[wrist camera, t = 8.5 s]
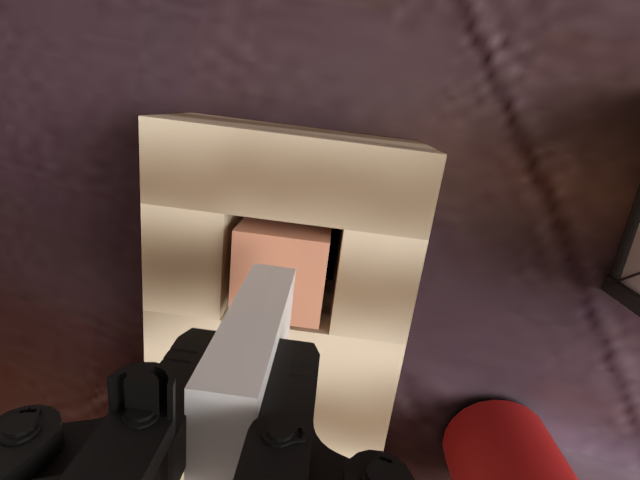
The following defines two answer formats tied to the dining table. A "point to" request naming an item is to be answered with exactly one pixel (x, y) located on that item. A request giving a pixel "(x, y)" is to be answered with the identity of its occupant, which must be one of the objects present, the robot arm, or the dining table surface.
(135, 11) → the dining table surface
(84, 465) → the robot arm
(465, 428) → the beer can
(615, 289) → the lantern
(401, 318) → the birch block
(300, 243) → the terracotta peg
